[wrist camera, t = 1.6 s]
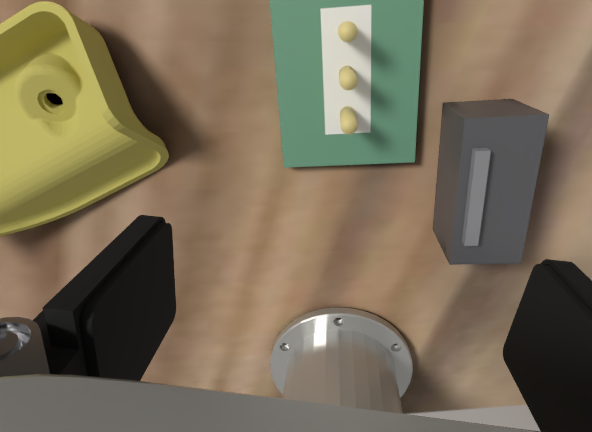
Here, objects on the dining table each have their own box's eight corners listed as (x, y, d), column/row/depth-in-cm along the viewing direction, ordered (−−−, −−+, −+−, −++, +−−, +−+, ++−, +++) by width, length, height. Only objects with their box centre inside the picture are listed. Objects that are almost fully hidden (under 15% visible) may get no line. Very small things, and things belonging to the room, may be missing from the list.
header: (412, 157, 29) (425, 180, 25) (285, 163, 30) (277, 185, 26) (422, -42, 24) (440, -55, 20) (269, -28, 25) (256, -38, 21)
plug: (493, 228, 31) (524, 268, 26) (432, 229, 31) (452, 269, 26) (512, 98, 27) (554, 116, 22) (442, 102, 27) (467, 121, 22)
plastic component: (59, -15, 24) (120, 138, 23) (134, 39, 31) (182, 157, 30) (-172, 134, 28) (-127, 271, 27) (-57, 151, 35) (-19, 260, 34)
